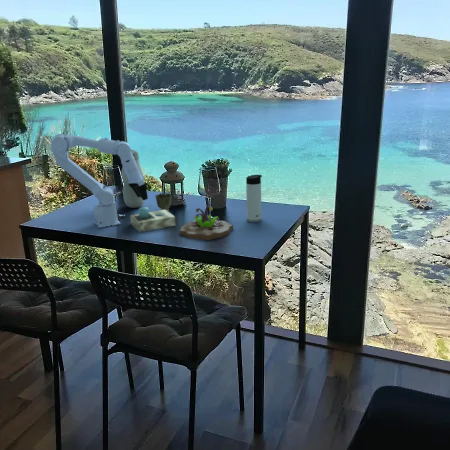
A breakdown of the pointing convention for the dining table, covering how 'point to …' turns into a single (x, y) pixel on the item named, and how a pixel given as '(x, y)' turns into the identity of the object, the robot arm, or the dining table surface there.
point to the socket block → (153, 220)
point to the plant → (205, 227)
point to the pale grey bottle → (128, 192)
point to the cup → (163, 201)
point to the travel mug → (253, 198)
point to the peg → (144, 212)
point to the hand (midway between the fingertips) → (142, 198)
